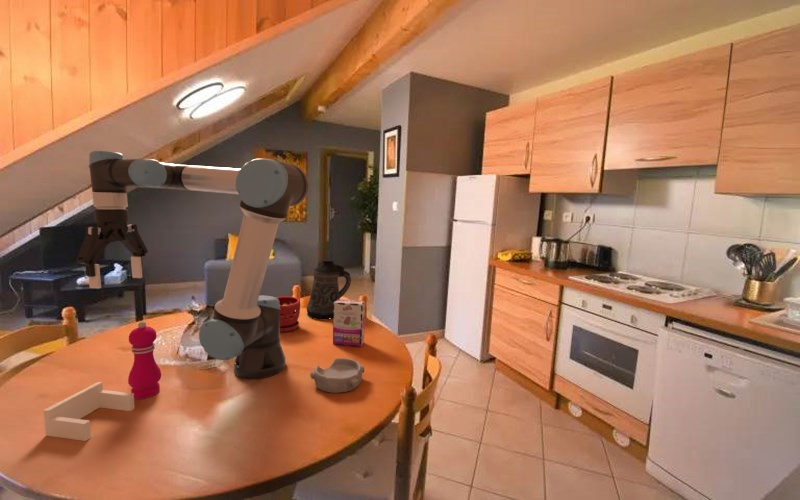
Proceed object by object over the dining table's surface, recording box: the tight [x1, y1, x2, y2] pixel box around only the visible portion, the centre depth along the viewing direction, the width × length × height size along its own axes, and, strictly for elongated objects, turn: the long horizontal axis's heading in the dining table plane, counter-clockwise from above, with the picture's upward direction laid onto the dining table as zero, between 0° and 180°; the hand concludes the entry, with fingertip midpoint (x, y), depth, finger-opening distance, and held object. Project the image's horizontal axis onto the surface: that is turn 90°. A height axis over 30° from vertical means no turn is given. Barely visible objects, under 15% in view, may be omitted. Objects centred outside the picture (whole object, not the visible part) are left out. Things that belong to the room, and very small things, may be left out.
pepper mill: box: [127, 321, 162, 400], centre depth 95 cm, size 7×7×20 cm
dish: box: [309, 357, 365, 394], centre depth 106 cm, size 14×14×5 cm
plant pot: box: [276, 296, 301, 333], centre depth 147 cm, size 13×13×12 cm
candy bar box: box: [332, 299, 366, 348], centre depth 135 cm, size 11×5×16 cm, turn 83°
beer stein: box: [305, 260, 352, 320], centre depth 168 cm, size 16×19×25 cm
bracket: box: [43, 381, 135, 442], centre depth 83 cm, size 10×12×6 cm
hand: (117, 282), depth 103 cm, fingers open, 13 cm apart
